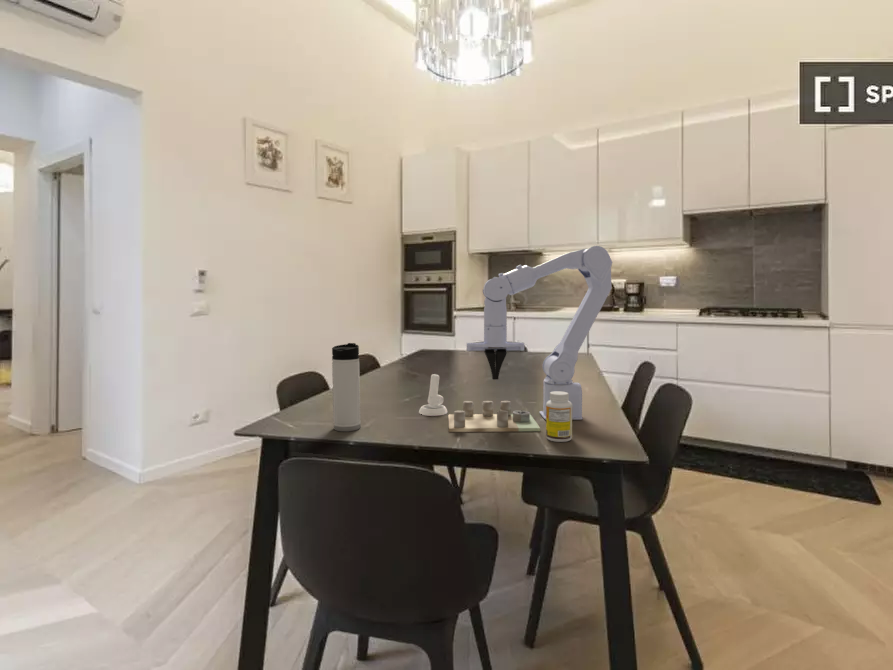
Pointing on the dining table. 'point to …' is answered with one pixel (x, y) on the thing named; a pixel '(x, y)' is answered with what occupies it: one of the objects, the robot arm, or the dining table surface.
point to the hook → (434, 400)
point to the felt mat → (528, 425)
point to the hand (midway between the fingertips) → (495, 378)
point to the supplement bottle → (559, 417)
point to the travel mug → (346, 387)
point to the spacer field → (482, 419)
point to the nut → (521, 416)
